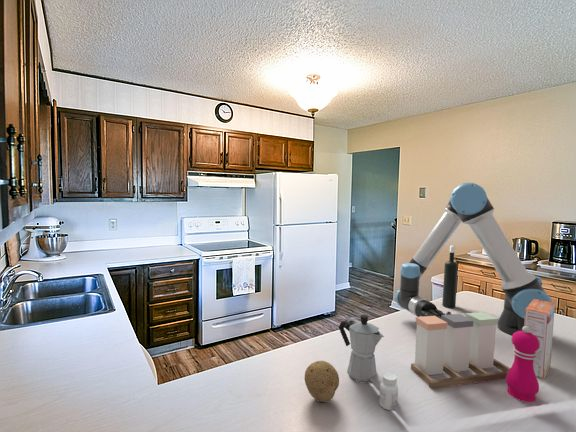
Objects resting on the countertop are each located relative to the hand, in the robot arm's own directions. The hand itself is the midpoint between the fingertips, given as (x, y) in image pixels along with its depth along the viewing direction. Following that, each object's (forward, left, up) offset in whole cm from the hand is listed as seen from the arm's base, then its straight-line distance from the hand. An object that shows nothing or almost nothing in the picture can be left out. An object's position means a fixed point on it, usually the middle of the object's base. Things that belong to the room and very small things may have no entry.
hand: (468, 334), depth 106 cm
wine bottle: (-14, -55, -9) cm, 58 cm away
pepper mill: (-6, +19, -9) cm, 22 cm away
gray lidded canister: (+7, +7, -8) cm, 12 cm away
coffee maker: (+36, +13, -9) cm, 39 cm away
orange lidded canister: (+15, +10, -8) cm, 20 cm away
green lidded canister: (-2, +4, -8) cm, 9 cm away
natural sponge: (+47, +27, -9) cm, 55 cm away
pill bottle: (+30, +27, -9) cm, 41 cm away
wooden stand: (+6, +9, -9) cm, 14 cm away
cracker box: (-20, +2, -9) cm, 22 cm away
